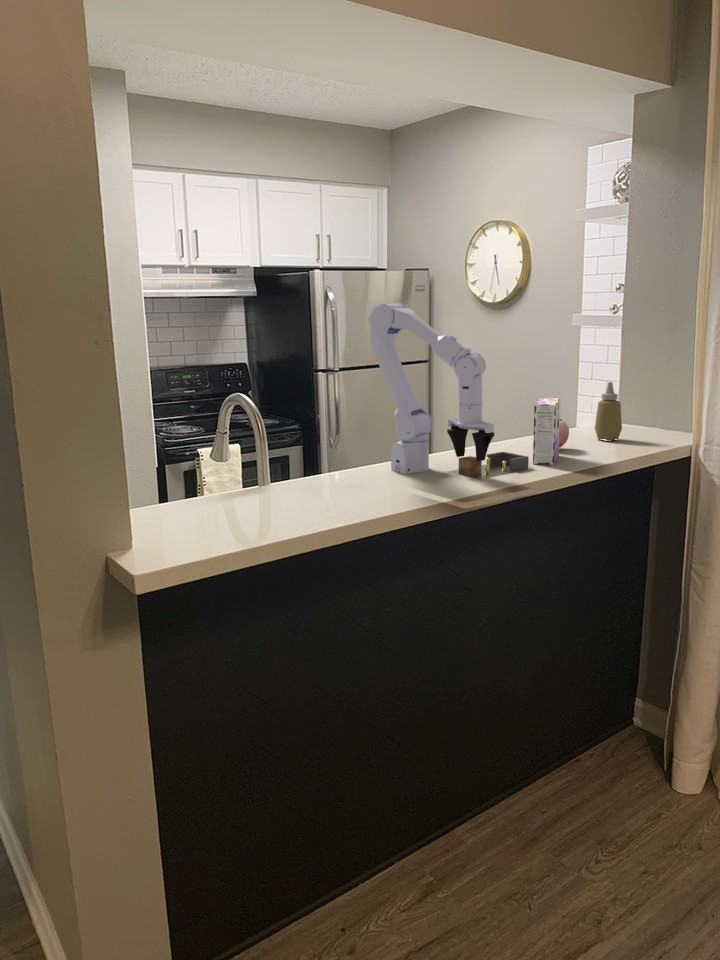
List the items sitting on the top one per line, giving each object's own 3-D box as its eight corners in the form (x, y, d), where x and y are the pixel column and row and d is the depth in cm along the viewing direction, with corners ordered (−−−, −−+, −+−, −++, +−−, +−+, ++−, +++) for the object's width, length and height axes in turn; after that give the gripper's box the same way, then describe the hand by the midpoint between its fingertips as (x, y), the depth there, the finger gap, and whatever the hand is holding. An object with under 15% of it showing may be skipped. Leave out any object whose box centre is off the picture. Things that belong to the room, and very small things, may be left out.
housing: (511, 471, 196) (512, 459, 195) (486, 465, 203) (486, 454, 203) (528, 468, 199) (528, 456, 198) (502, 462, 207) (503, 451, 206)
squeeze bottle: (615, 437, 246) (618, 380, 242) (625, 441, 238) (628, 383, 234) (590, 438, 246) (592, 381, 242) (599, 442, 238) (602, 383, 234)
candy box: (538, 455, 222) (539, 397, 219) (559, 455, 220) (561, 397, 217) (532, 464, 209) (533, 403, 206) (554, 465, 208) (556, 403, 204)
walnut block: (469, 476, 192) (469, 460, 191) (458, 473, 195) (458, 458, 194) (481, 474, 194) (481, 458, 193) (470, 471, 197) (470, 456, 196)
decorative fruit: (540, 446, 235) (541, 413, 232) (568, 447, 233) (569, 413, 230) (539, 452, 226) (540, 418, 224) (568, 453, 224) (569, 418, 222)
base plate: (478, 484, 188) (478, 469, 188) (446, 476, 198) (446, 461, 197) (534, 473, 199) (534, 459, 198) (501, 466, 208) (501, 452, 208)
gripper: (438, 403, 194) (439, 456, 197) (478, 408, 182) (478, 464, 185) (460, 400, 198) (460, 452, 201) (500, 405, 186) (499, 460, 189)
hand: (470, 458), depth 193 cm, fingers open, 7 cm apart
